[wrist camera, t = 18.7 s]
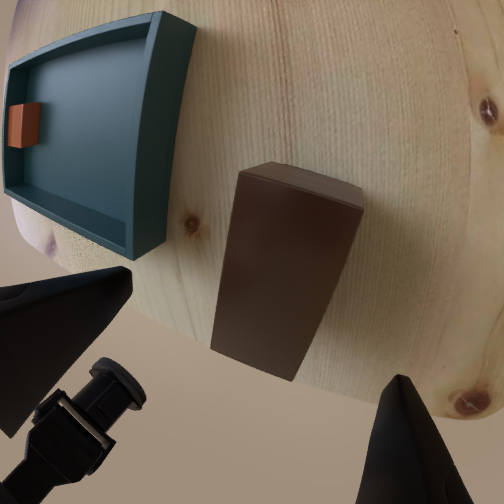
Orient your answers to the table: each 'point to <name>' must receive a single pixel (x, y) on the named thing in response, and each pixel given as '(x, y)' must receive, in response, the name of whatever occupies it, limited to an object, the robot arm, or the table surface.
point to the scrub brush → (282, 264)
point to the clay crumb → (24, 125)
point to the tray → (102, 129)
